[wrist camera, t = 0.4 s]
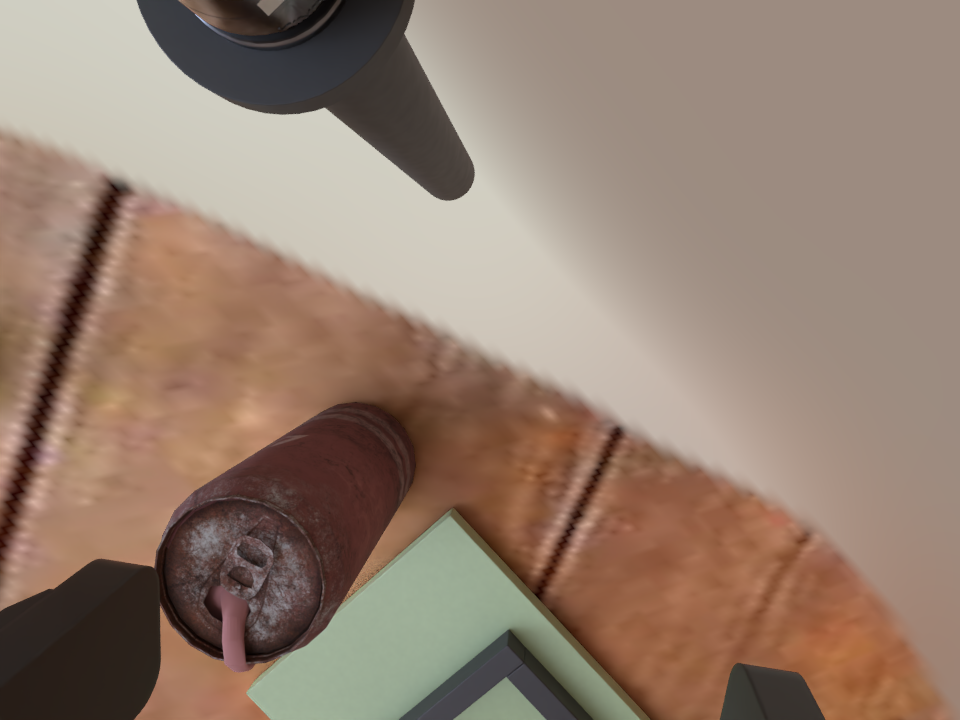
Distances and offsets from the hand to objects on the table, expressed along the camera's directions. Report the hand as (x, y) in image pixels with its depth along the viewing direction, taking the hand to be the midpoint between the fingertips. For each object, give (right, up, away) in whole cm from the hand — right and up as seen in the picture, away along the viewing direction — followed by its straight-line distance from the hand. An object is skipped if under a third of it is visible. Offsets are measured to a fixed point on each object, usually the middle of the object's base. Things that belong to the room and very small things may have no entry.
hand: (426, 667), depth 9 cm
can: (-6, -1, +25) cm, 26 cm away
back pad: (0, -15, +26) cm, 30 cm away
